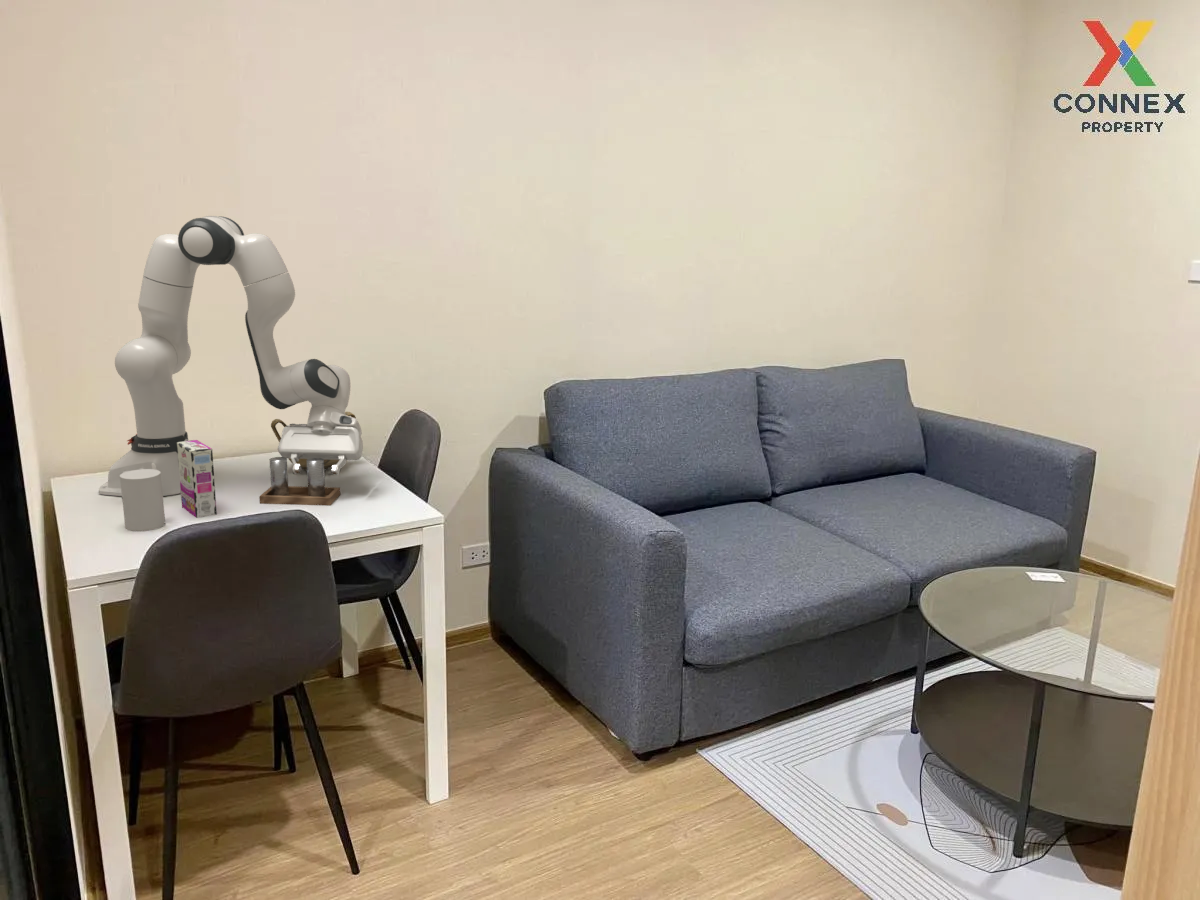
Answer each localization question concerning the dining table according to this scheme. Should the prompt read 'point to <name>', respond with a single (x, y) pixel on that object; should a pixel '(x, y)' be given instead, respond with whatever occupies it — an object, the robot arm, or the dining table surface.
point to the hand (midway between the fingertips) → (315, 472)
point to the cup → (142, 499)
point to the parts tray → (300, 497)
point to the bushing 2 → (315, 477)
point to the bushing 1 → (279, 476)
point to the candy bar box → (197, 478)
